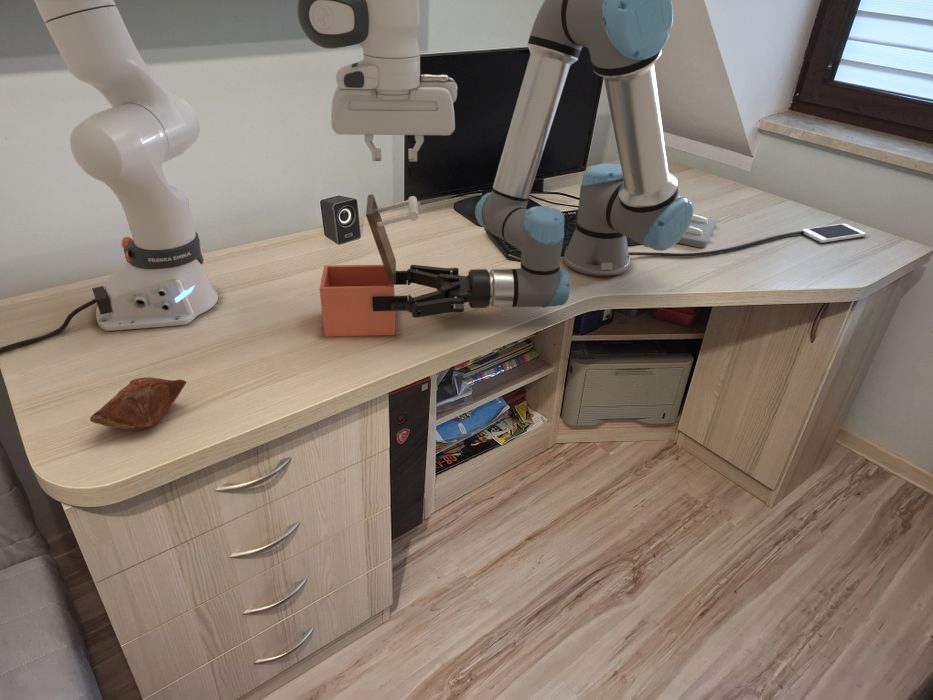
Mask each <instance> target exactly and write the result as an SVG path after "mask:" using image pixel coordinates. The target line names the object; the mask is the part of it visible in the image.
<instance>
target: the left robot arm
mask: <svg viewBox="0 0 933 700" xmlns="http://www.w3.org/2000/svg"><path fill="white" fill-rule="evenodd" d="M33 2H34V3H35V6H36V8H37V10H38V13H39V14H40V17H41V19H42V21H43V22H44V25H45V27H46V28H47V30H48V33H49V34H50V37H51V38H52V41H53V42H54V45H55V46H56V49H57V50H58V53H59V54H60V56H61V58H62V60H63V62H64V64H65V66H66V68H67V70H68V71H69V73H70V74H71V75H72V76H73V77H74V78H75V79H77V80H79V81H80V82H83V83H85V84H88V85H91V86H92V87H93V88H94V89H96V90H97V91H98V92H99V93H100V94H101V95H102V96H103V97H104V98H105V99H106V100H107V102H108V103H109V104H110V106H111V108H108V109H104V110H101V111H98V112H95V113H93V114H92V115H90V116H89V117H87V118H86V119H84V120H83V121H81V122H80V123H79V124H78V125H76V126H74V128H73V129H72V130H71V133H70V136H69V145H70V146H69V147H70V150H71V154H72V156H73V159H74V160H75V162H76V164H77V165H78V166H79V167H80V169H81V170H82V171H83V172H84V173H86V174H87V175H89V176H90V177H91V178H93V179H95V180H97V181H99V182H102V183H103V184H105V185H106V186H107V187H108V188H109V189H110V190H111V191H112V192H113V194H114V195H115V196H116V198H117V199H118V201H119V203H120V205H121V207H122V209H123V212H124V215H125V219H126V221H127V224H128V227H129V231H130V234H131V237H129V236H125V237H123V238H122V240H121V247H122V248H123V253H124V257H125V260H126V261H125V262H123V264H122V265H121V266H119V267H118V268H117V269H116V270H115V271H114V272H113V273H111V274H110V275H109V277H108V278H107V280H106V282H105V286H104V285H102V286H96V287H92V288H91V291H92V293H93V297H94V298H93V299H91V300H90V301H87V302H86V303H84V304H82V305H80V306H78V307H76V308H75V309H73V310H72V311H71V312H70V313H69V314H68V315H67V316H66V318H65V320H64V322H63V324H62V325H60V326H59V327H57V329H55V330H53V331H51V332H49V333H46V334H44V335H41V336H38V337H33V338H28V339H25V340H20V341H18V342H14V343H11V344H7V345H5V346H1V347H0V353H3V352H5V351H8V350H11V349H15V348H19V347H23V346H27V345H29V344H34V343H38V342H41V341H43V340H46V339H50V338H52V337H54V336H56V335H58V334H60V333H62V332H63V331H65V329H66V328H67V327H68V326H69V324H70V322H71V320H72V319H73V318H74V317H75V316H76V315H78V314H79V313H80V312H82V311H84V310H85V309H87V308H89V307H92V306H93V305H95V304H96V305H97V307H96V309H95V317H96V322H97V324H98V326H99V327H100V328H101V329H102V330H103V331H106V332H111V331H112V332H113V331H125V330H137V329H139V330H140V329H151V328H164V327H174V326H184V325H188V324H190V323H191V322H192V321H194V319H195V318H197V317H198V316H200V315H202V314H204V313H206V312H208V311H209V310H211V309H212V308H213V307H214V306H215V305H216V304H217V303H218V300H219V295H218V292H217V291H216V290H215V288H214V286H213V284H212V282H211V280H210V278H209V274H208V272H207V270H206V267H205V264H204V258H205V257H204V256H205V255H204V251H203V246H202V241H201V239H200V237H199V234H198V232H197V231H196V230H195V229H196V228H195V225H194V224H195V223H194V219H193V216H192V211H191V207H190V201H189V199H188V196H187V195H186V194H185V193H184V192H183V191H182V190H180V189H179V188H177V187H175V186H173V185H170V183H169V182H168V180H167V179H166V177H165V174H164V172H163V164H164V163H166V162H168V161H170V160H173V159H175V158H177V157H179V156H181V155H183V154H184V153H185V152H186V151H188V149H190V148H191V147H192V146H193V145H194V144H195V142H196V141H197V140H198V138H199V136H200V129H201V128H200V127H201V126H200V121H199V118H198V115H197V113H196V112H195V110H194V108H193V107H192V106H191V104H189V103H188V102H187V101H186V100H185V99H183V98H182V97H180V96H178V95H176V94H174V93H173V92H172V91H170V90H169V89H168V88H167V87H165V85H164V84H163V83H162V82H161V81H160V80H159V79H158V77H157V76H156V75H155V74H154V73H153V71H152V70H151V69H150V68H149V66H148V64H146V61H145V60H144V59H143V58H142V56H141V54H140V52H139V51H138V49H137V47H136V45H135V43H134V41H133V38H132V36H131V35H130V32H129V30H128V28H127V26H126V23H125V22H124V20H123V17H122V15H121V13H120V10H119V9H118V7H117V4H116V3H115V0H33ZM420 7H421V6H420V0H298V2H297V16H298V17H297V18H298V22H299V25H300V27H301V30H302V31H303V33H304V34H305V36H306V37H307V38H308V39H309V41H311V42H312V43H313V44H315V45H316V46H318V47H321V48H323V49H328V50H329V49H330V50H341V49H343V48H346V47H351V46H360V47H361V48H362V53H363V60H359V61H355V62H352V63H350V64H347V65H344V66H341V67H339V69H338V70H337V72H336V74H335V81H336V85H337V86H336V88H335V91H334V93H333V97H332V100H331V101H332V102H331V114H330V116H331V117H330V118H331V120H330V123H331V130H332V131H333V132H334V133H335V134H336V135H349V136H350V135H351V136H352V135H357V136H360V135H361V136H364V142H365V144H366V146H367V147H368V149H369V150H370V152H371V159H372V160H371V161H372V162H382V149H381V148H379V147H376V145H375V144H374V136H414V141H415V144H414V146H413V147H412V148H408V162H418V152H419V150H420V149H421V147H422V146H423V143H425V138H424V137H425V136H451V135H452V134H453V133H454V132H455V130H456V121H455V120H456V119H455V118H456V117H455V109H454V103H455V102H456V101H457V98H458V84H457V82H456V80H454V78H452V77H450V76H449V75H448V74H445V73H444V74H443V73H442V74H431V73H421V50H420V46H419V40H418V33H419V28H420V23H421V14H420V13H421V11H420V10H421V9H420Z"/></svg>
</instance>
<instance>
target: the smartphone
mask: <svg viewBox="0 0 933 700" xmlns="http://www.w3.org/2000/svg"><path fill="white" fill-rule="evenodd" d="M801 231H804V233H803V235H805V236H807V237H808V238H811V239H813V240H815V241H816V242H819V243H820V244H821V243H823V244H824V243H829V242H835V241H842V240H849V239H855V238H861V237H865V236H866V232H864V231H863V230H860V229H858V228H856V227H853V226H851V225H849V224H847V223H837V224H831V225H824V226H823V225H822V226H818V227H817V226H816V227H810V228H803V229H801Z"/></svg>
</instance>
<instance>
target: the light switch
mask: <svg viewBox="0 0 933 700" xmlns="http://www.w3.org/2000/svg"><path fill="white" fill-rule="evenodd" d="M715 225H716V219H715V218H712V217H707V216H702V215H697V214H693V217H692V221H691V223H690V226H689V228H688V229H687V231H686V233H685V234H684V235H683V237H682V238H681V239H680V240H679V241H678V242H677V243H676V244H679V245H680V244H681V245H685V246H691V247H695V248H699V249H700V248H702V249H704V248H706V247H707V246H708V243H709V240H710V238H711V237H712V233H713V230H714V229H715Z"/></svg>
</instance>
